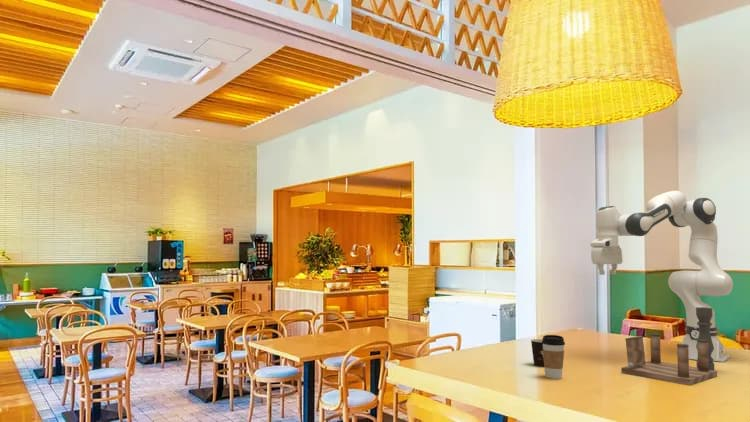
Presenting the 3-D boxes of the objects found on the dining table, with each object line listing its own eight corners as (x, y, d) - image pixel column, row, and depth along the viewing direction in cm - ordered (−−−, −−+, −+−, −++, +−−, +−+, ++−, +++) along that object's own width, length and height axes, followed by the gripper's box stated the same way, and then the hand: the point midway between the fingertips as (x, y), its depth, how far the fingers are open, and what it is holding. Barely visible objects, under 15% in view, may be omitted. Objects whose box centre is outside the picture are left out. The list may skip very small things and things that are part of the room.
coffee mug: (529, 366, 229) (529, 341, 230) (532, 362, 237) (532, 338, 238) (559, 369, 225) (559, 343, 226) (561, 365, 233) (561, 340, 234)
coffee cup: (565, 375, 213) (565, 335, 214) (565, 380, 205) (564, 338, 206) (542, 373, 216) (542, 334, 217) (541, 378, 208) (541, 337, 209)
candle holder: (717, 373, 221) (715, 309, 223) (699, 372, 223) (698, 308, 224) (711, 370, 227) (709, 307, 229) (694, 369, 229) (692, 306, 230)
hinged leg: (640, 364, 224) (637, 336, 226) (646, 364, 223) (643, 336, 224) (628, 367, 218) (625, 338, 219) (633, 368, 216) (630, 338, 218)
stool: (651, 365, 235) (650, 332, 236) (717, 376, 216) (716, 340, 217) (621, 372, 219) (620, 337, 220) (689, 385, 200) (688, 346, 201)
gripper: (612, 243, 256) (612, 273, 255) (588, 242, 243) (588, 274, 242) (626, 243, 251) (626, 274, 250) (602, 242, 238) (602, 275, 237)
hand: (607, 274), depth 246 cm, fingers open, 8 cm apart
